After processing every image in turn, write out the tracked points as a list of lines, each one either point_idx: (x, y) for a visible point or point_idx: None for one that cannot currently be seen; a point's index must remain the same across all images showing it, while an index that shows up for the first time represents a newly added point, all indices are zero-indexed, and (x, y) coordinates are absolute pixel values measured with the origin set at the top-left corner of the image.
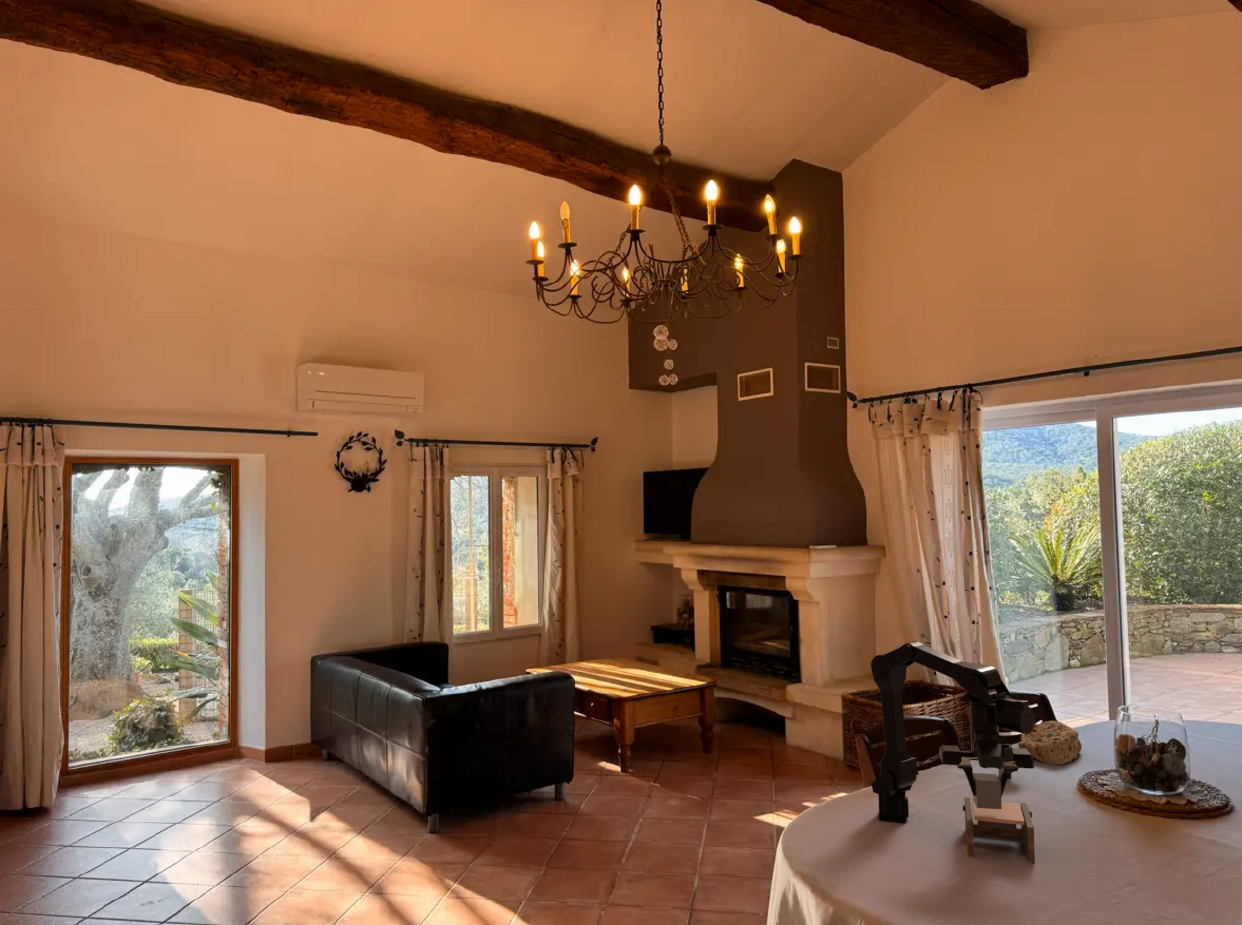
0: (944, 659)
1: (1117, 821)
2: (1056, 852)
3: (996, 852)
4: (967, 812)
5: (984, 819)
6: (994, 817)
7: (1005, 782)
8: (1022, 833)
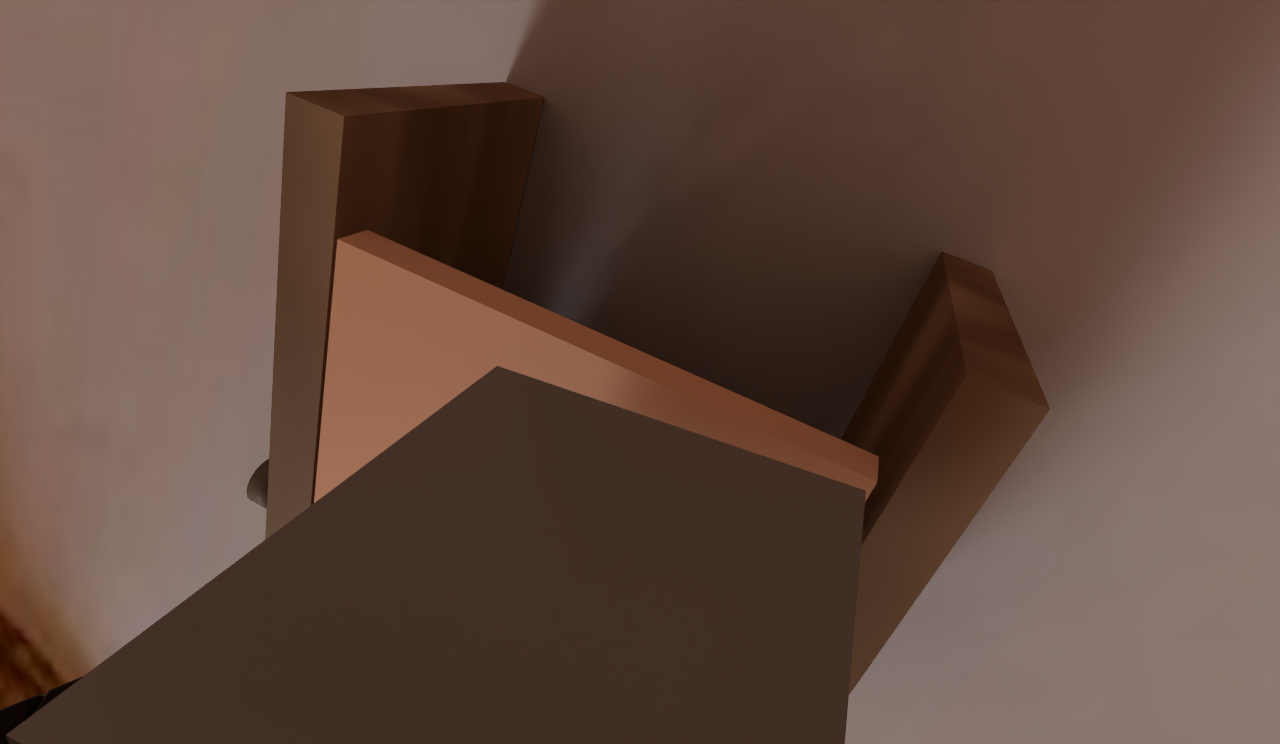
0: None
1: (41, 552)
2: None
3: (707, 314)
4: (870, 635)
5: (759, 416)
6: (629, 401)
7: (23, 716)
8: None
